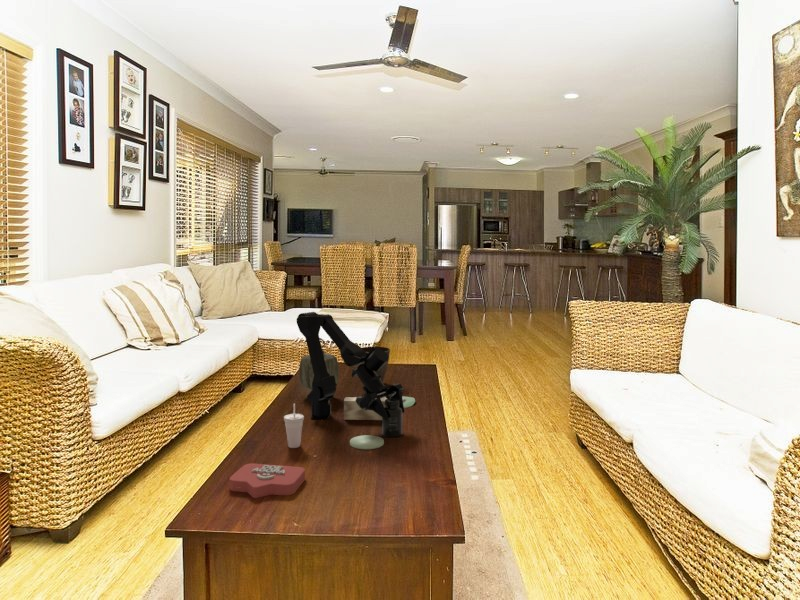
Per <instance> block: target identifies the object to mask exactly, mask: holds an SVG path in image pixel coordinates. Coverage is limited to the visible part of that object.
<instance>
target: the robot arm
mask: <svg viewBox="0 0 800 600" xmlns="http://www.w3.org/2000/svg"><path fill="white" fill-rule="evenodd" d="M296 325H297V327H298V330H299V332H300V333H301V335H303V336H304V338H305V340H306V341H305V342H306V346H307V350H308V355H310V359H311V363H312V368H313V372H314V378H313V382H312V388H313V390H312V391H311V390H310V392H309V393H308V394H307V395H306V398H307V402H308V403H311V416H310V419H323V420H325V419H329V418H330V416H331V415H332V403H331V401H330V400H334V397H335V394H336V392H337V386H338V383H337V384H336V382H335V377H334V375H332V376H331V375H330V374H329V373H328V372H327V368H326V364H325V360H324V356H323V351H322V349H323V347H321V346H322V344H321V340H320V339H319V338H320V335H319V334H320V332H321V331H320V330H321V328H322V329H323V330H324V332H325V333H326V334H327V335H328V337H329V338H330V339H331V340H332V342H333V343H334V345H336V347H337V349H338V350H339V352H340V357H341V360H342V361H343V363H344V364H345V365H346V366H347V367H350V368H351V367H354V368H353V369H352V372H351V377H352V378H354V377H355V378H356V377H358V378H359V380H360V381H361V383H362V385H363V387H362V390H363V392H364V393H363V394H362V395H361V396H356V397H357V398H356V400H355V401H356V403H357V404H358V405H359V407H360V408H361V409H365V410H373V411H374V412H376V413H377V414H379V415H380V416H381V417H383V418H384V419H385V420H388V415H387V413H386V410H385V408H384V406H383V404H382V401H381V398H384V397H386V398H387V399H389V398H396V399H399V407H400V408H401V409H402V414H404V413H405V408H404V406H403V400H402V396H403V392H404V391H403V390H404V387H403V385H402V384H401V383H393V384H391V385H390V386H389V385H388V384H386V385H385V384H384V383H383V382H382V381H381V380H380V379H381V378H382V377H381V375H380V376H378V375H377V374H376V373H375V371H378V370H380V368H381V367H382V366H383V365H384V364H385V363H386V362H387V361H388V362H389V361H390V360H389V359H390V356H389V357H388V354H387V353H386V352H384V351H383V350H382V349H379V348H378V347H379V346H378V345H376V346H372V347H373V348H372V349H371V351H370V352H369V353H367V352H365V351H364V350H363V349H362V348H363V347H361V346H360V345H359V344H356V343H354V342H353V341H352V340H350V338H349V337H348V336H347V335H346V333H345V332H344V331H343V330H342V329H341V327H340V326H339V325H338V324H337V322H336V321H335V320H334V318H333V316H332V315H331V314H329V313H328V314H327V313H326V314H324V313H323V314H322V313H320V314H319V313H317V312H315V311H311V312H302V313H299V314H298V316H297V318H296ZM362 363H364V364H362ZM355 366H357V367H355ZM333 396H334V397H333Z"/></svg>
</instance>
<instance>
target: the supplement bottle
mask: <svg viewBox="0 0 800 600" xmlns="http://www.w3.org/2000/svg"><path fill="white" fill-rule="evenodd" d="M385 406H386V407H384V408H385V410H386V413H387V415H388V420H385V419H384V418H383V417H382V420H381V421H382V422H381V423H382V424H381V426H382V427H381V433H382V435H383V436H384V437H387V438H397V437H401V436H402V434H403V413H402V409H401V408H400V407H399V399H396V398H389V399H386V400H385Z"/></svg>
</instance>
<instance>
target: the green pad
mask: <svg viewBox="0 0 800 600" xmlns="http://www.w3.org/2000/svg"><path fill="white" fill-rule="evenodd" d="M384 444H385V441H384V438H382V437H380V436H377V435H373V434H371V435H369V434H367V435H366V434H363V435H357V436H353V437H352V438H350V439H349V446H351V447H352V448H353V449H358V450H374V449H375V450H376V449H379V448H381V447H383V446H384Z"/></svg>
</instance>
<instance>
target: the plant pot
mask: <svg viewBox="0 0 800 600" xmlns="http://www.w3.org/2000/svg"><path fill="white" fill-rule="evenodd" d="M373 347H374V346H365V347H361V348H362V349H363V350H364V351H365V352H367V353H369V352H370V351H371V349H372V348H373ZM377 347H378V348H379V349H382V350H383V351H384V352H386V353H387V354H388V357H389V358H390V354H391V353H390V352H391V349H390V348H388V347H385V346H377ZM388 363H389V360H388V361H387V362H386V363H385V364H384V365H383V366H382V367H381V368H380V370H378V371H375V373H376V374H377V375H378V376H380V375H381V377H382V378H381V379H380V380H381V381H382V383H383V381H384V379H385V375H386V373H387V370H388V365H389V364H388ZM362 364H364V363H362Z"/></svg>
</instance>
